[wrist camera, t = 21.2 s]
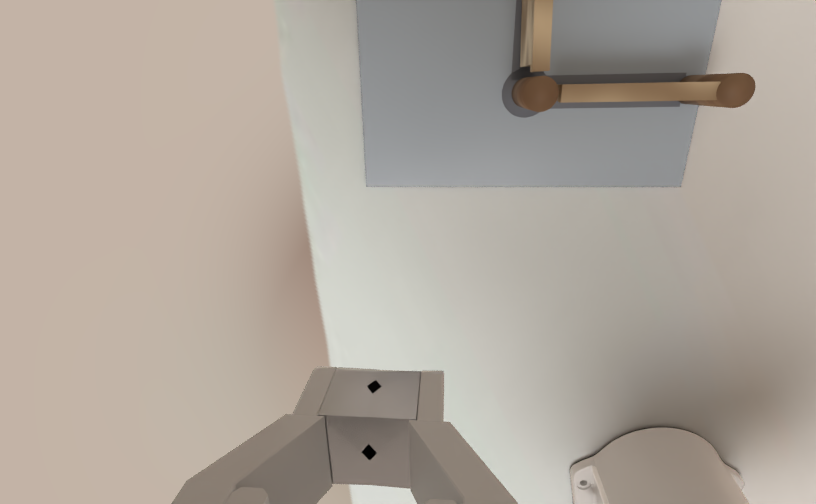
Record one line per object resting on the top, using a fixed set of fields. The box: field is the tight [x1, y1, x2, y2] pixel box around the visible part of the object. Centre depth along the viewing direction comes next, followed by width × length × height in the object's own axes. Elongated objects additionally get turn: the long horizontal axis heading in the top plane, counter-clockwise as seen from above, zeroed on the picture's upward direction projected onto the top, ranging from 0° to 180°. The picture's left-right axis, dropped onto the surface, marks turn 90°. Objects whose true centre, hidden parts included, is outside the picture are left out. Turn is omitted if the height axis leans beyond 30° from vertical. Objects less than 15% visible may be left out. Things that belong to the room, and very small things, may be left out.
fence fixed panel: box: [512, 73, 755, 112], centre depth 32 cm, size 2×15×6 cm, turn 91°
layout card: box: [356, 0, 722, 187], centre depth 34 cm, size 24×28×1 cm
